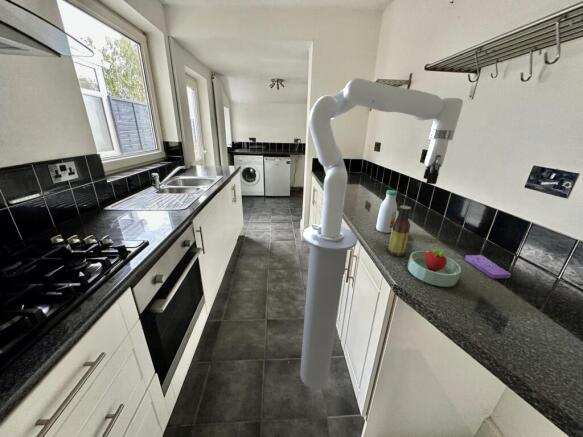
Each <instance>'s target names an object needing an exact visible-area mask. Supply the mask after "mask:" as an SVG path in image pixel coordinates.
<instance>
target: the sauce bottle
mask: <svg viewBox="0 0 583 437" xmlns="http://www.w3.org/2000/svg"><path fill="white" fill-rule="evenodd" d="M411 211H412V207H411V206H408V205H400V206H398V214H397V217H396V218H395V222H394V224H393V226H392V232H390V237H389V243H388V252H389V253H390V254H391V255H393V256H395V257H396V256H397V257H402V256H404V255H405V253H406V248H407V244H408V239H409V235H410V228H411V222H410V220H409V218H410V213H411Z"/></svg>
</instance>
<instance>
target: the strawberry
mask: <svg viewBox="0 0 583 437" xmlns="http://www.w3.org/2000/svg"><path fill="white" fill-rule="evenodd" d="M442 249H443V247H441V248H439V250H438V249H433V248H431V250H428V251H429V252H427V253H426V254H425V262H426V265H427V268H428V270H430V271H433V272H437V271H439V270H441V269H443V268H444V267H445V265H446V263H447V260H446V258H445V257H447V256H446V255H447V253H446V252H443V251H442V252H440V251H441V250H442Z"/></svg>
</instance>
